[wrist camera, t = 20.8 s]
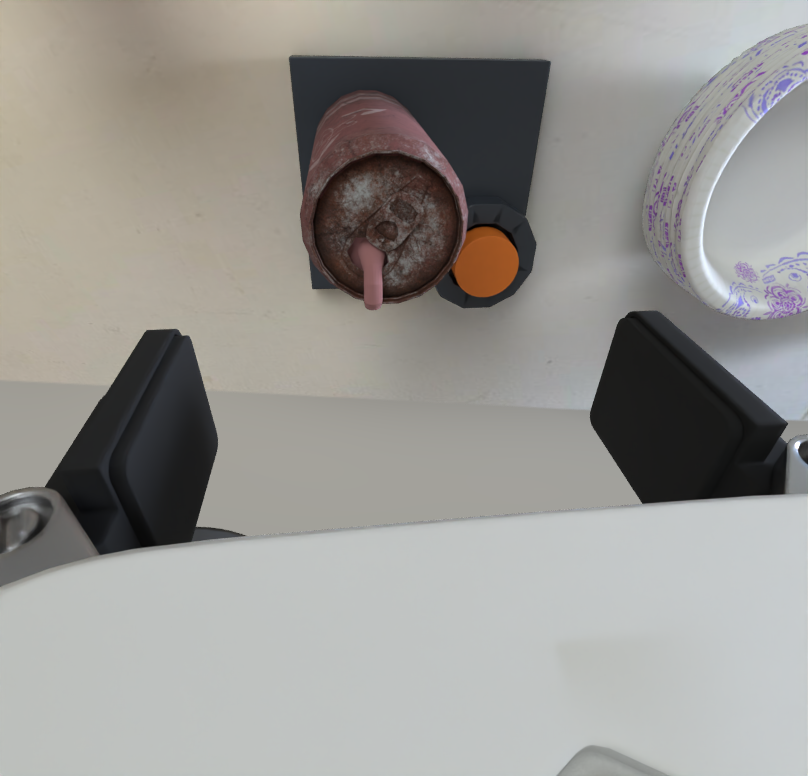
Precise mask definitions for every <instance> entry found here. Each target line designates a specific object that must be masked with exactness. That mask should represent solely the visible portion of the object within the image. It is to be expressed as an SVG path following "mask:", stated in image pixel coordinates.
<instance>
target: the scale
mask: <svg viewBox="0 0 808 776" xmlns="http://www.w3.org/2000/svg"><path fill="white" fill-rule="evenodd" d="M289 62H290V72H291V82H292V92H293V102H294V112H295V122H296V132H297V142H298V151H299V161H300V171H301V181H302V191H303V196H304V191H305V186H306V181H307V176H308V170H309V165H310V160H311V155H312V150H313V145H314V140H315V135H316V131H317V126H318V124H319V122H320V120H321V118H322V117H323V115H324V113H325V111H326V110H327V108H328V107H330V106H331V105H332V104H333V103H334V102H335V101H337V100H338V99H339V98H340V97H341V96H344V95H347V94H349V93H352V92H355V91H357V90H377V91H379V92H382V93H384V94H387V95H390V96H392V97H394V98H395V99H396V100H398V101H399V102H400V103H401V104H402V105H403V106H405V107H406V108H407V109H408V110H409V112H410V113H411V114H412V115H413V117H414V118H415V119H416V121H417V122H418V123H419V124H420V126H421V127H422V128H423V130H424V131H425V132H426V134H427V135H428V136H429V137H430V139H431V140H432V141H433V143H434V144H435V145H436V146H437V148H438V149H439V150H440V152H441V153H442V154H443V155H444V157H445V158H446V159H447V161H448V162H449V164H450V165H451V167H452V169H453V170H454V172H455V174H456V175H457V177H458V179H459V180H460V182H461V184H462V185H463V190H464V194H465V199H466V203H467V208H468V220H467V230H466V232H467V231H469V230H471V229H474V228H477V227H483V226H487V227H493V228H496V229H498V230H500V231H501V232H502V233H504V234H505V235H506V237H507V238H508V239H509V241H510V242H511V243H512V245H513V246H514V247H515V249H516V251H517V253H518V258H519V266H518V271H517V274H516V276H515V278H514V280H513V281H512V282H511V284H510V285H509V286H508V287H507V288H506V289H504V290H503V291H501V292H500V293H498V294H496V295H493V296H489V297H476V296H472V295H470V294H468V293H466V292H465V291H464V290H462V288H461V287H460V286H459V284H458V282H457V280H456V278H455V276H454V274H453V271H452V269H450V270H449V271H448V273H447V274H446V275H445V276H444V277H443V279H442V280H441V281H440V282H439V284H437V285H436V286H435V288H436V289H437V291H438V293H439V295H440V296H441V297H442V298H444V299H446V300H448V301H450V302H452V303H454V304H456V305H458V306H460V307H462V308H482V307H491V306H493V305H495V304H497V303H498V302H500V301H502V300H504V299H506V298H508V297H510V296H512V295H514V294H515V292H516V291H517V290H518V288H519V287H520V286H521V285H522V283H523V282H524V281H525V279H526V278H527V277H528V275H529V274H530V273H531V271H532V266H533V261H534V255H535V250H536V241H535V238H534V236H533V233H532V231H531V228H530V226H529V223H528V220H527V219H526V218H525V215H526V209H527V203H528V197H529V191H530V185H531V179H532V173H533V167H534V161H535V155H536V149H537V143H538V137H539V131H540V125H541V119H542V113H543V107H544V101H545V95H546V89H547V83H548V77H549V71H550V65H551V61H547V60H541V59H482V58H422V57H363V56H304V55H292V56H290V57H289ZM309 261H310V271H311V280H312V289H336V288H337V287H336V286H334V285H333V284H331V283H330V282H329V281H328V280H327V279H326V278H325V277H324V276H323V274H322V273H321V272H320V271H319V270H318V269H317V268H316V267H315V265H314V264H313V262H312V260H311V258H310V255H309Z"/></svg>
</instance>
